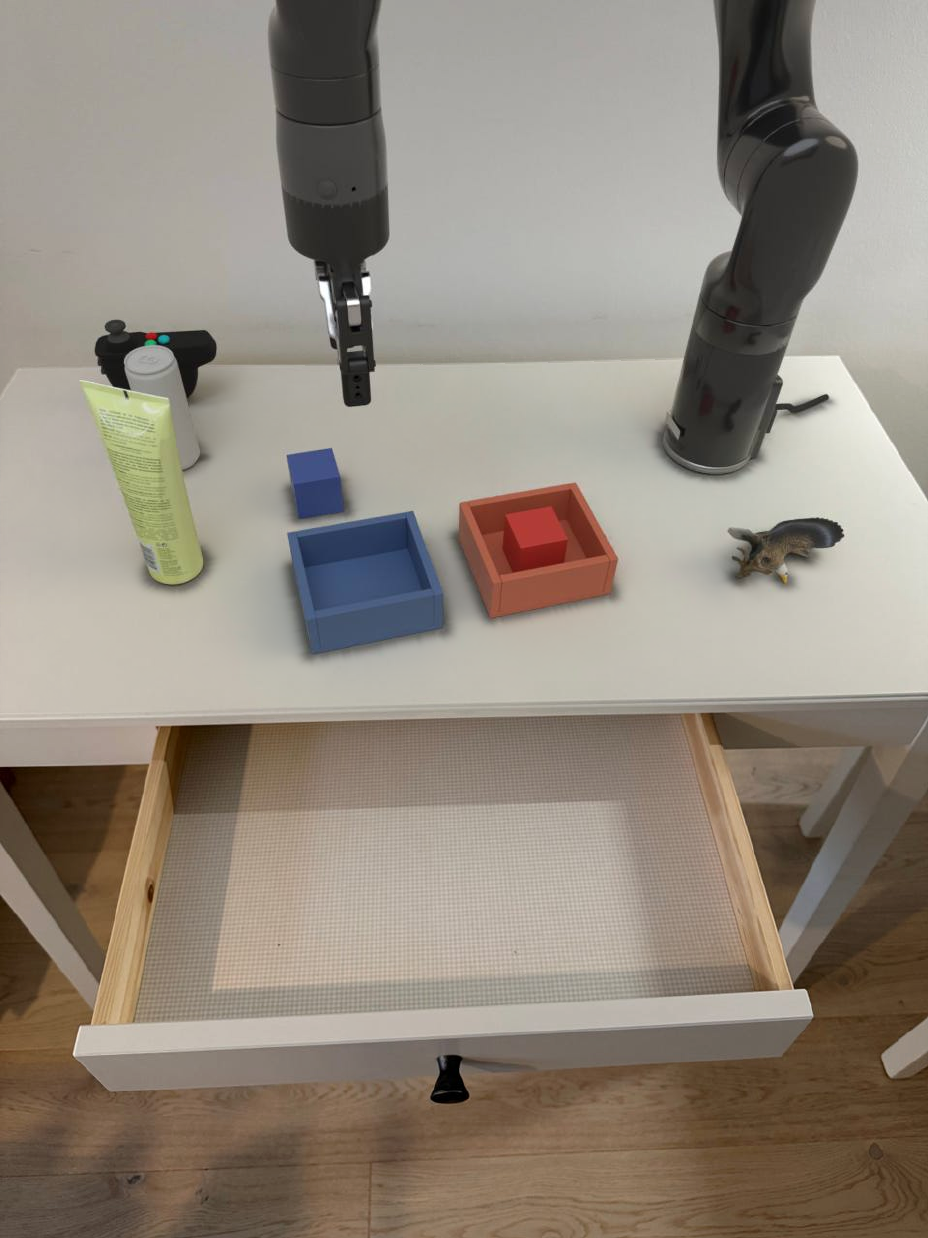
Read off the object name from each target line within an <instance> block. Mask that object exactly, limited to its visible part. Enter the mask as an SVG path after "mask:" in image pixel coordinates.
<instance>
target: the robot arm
mask: <svg viewBox="0 0 928 1238" xmlns="http://www.w3.org/2000/svg"><path fill="white" fill-rule="evenodd" d="M382 1H383V0H275V5H274V6H273V8H272V9H271V11H270V14H269V16H268V22H267V45H268V46H267V47H268V57H269V67H270V76H271V82H272V83H271V85H272V92H273V100H274V106H275V145H276V155H277V163H278V170H279V178H280V186H281V195H282V202H283V209H284V218H285V227H286V233H287V239H288V242H289V244H290V246H291V247H292V249H293V250H295V251H296V252H297V253H298V254H300V255H301V256H303V257H305V258H307V259H310V260H313V270H314V276H315V280H316V281H317V282H316V283H317V288H318V295H319V298H320V299H321V300H322V302H323V305H324V313H325V320H326V327H327V332H328V337H329V343H330V347H331V348H332V349H333V350H336V353H337V358H336V363H337V365H338V366H339V371H340V378H341V391H342V392H341V393H342V400H343V403H344V405H345V406H346V407H348V408H353V407H363V406H369V404H371V402H372V391H371V390H372V388H371V373H374V372H376V367H377V363H376V362H377V361H376V360H375V352H374V338H373V337H374V336H373V331H374V320H373V312H372V308H373V301H372V299H371V297H370V296H371V293H372V291H373V290H372V289H373V287H372V281H371V280H372V279H371V273H370V270H367V264H366V260H367V259H369V258H370V257H372V256H375V255H377V254H378V253H380V252H381V251H382V250H384V249H385V247H386V245H387V244H388V242H389V239H390V210H389V209H390V208H389V207H390V206H389V205H390V204H389V180H388V177H389V176H388V151H387V139H386V138H387V137H386V131H385V125H384V119H383V109H382V95H381V94H382V93H381V91H382V90H381V68H380V46H379V39H378V26H379V19H380V14H381V9H382V4H383V3H382ZM816 2H817V0H712V4H713V12H714V23H715V29H716V39H717V50H718V98H717V99H718V100H717V101H718V103H717V104H718V107H717V131H716V132H717V133H716V134H717V135H716V168H717V169H716V170H717V178H718V181H719V185H720V187H721V190H722V192H723V194H724V196H725V198H726V199H727V201H729V203H730V204H731V206H733V208H734V209H735V210H736V212H737V213H738V214H739V215H740V216H741V218H740V222H739V226H738V230H737V232H736V236H735V239H734V242H733V245H732V248H731V250H729V251H725V252H722V253H720V254H718V255H716V256H715V257H714V258H712V260H711V261H709V263H708V264H707V267H706V269H705V271H704V275H703V278H702V281H701V286H700V291H699V295H698V298H697V303H696V307H695V311H694V315H693V319H692V323H691V327H690V331H689V335H688V340H687V344H686V348H685V352H684V356H683V360H682V364H681V368H680V373H679V375H678V379H677V380H678V381H677V385H676V389H675V393H674V397H673V401H672V405H671V410H670V413H669V412H668V411H667V412H666V416H665V423H666V427H665V430H664V434H663V438H662V444H663V448H664V450H665V452H666V453H667V455H668V456H669V457H670V458H671V459H672V460H673V461H674V462H676V463H677V464H678V465H680V466H682V467H684V468H686V469H689V470H691V471H694V472H698V473H703V474H709V475H723V474H730V473H733V472H736V471H738V470H740V469H741V468H744V467H745V466H746V465H747V464H748V462H749V461H750V460H751V459H756V458H758V455H759V454H760V451H761V448H762V445H763V443H764V439H765V436H766V434H770V433H771V431H772V428H773V425H774V422H775V420H776V417H777V414H778V411H782V410H783V411H788V412H789V413H799V412H803V411H805V410H809V409H811V408H813V407H815V406H817V405H819V404H822V403H824V402H826V401H828V400H829V399H830V396H829V395H828V394H827V393H824V394H822V395H819V396H817V397H815V398H813V399H811V400H809V401H806V402H804V403H801V404H797V405H793V404H792V403H789V402H788V403H787V402H783V403H782V402H780V403H778V400H779V396H780V394H781V392H782V389H783V386H784V381H783V378H782V377H781V376H780V375H779V372H780V369H781V366H782V363H783V360H784V358H785V354H786V352H787V348H788V346H789V343H790V339H791V337H792V334H793V331H794V328H795V325H796V322H797V319H798V316H799V314H800V311H801V308H802V305H803V303H804V300H805V299H806V297H807V296H808V295H809V294H810V293H811V291H812V290H813V289H814V288H815V287H816V285H817V284H818V282H819V280H820V279H821V277H822V275H823V274H824V271H825V268H826V266H827V264H828V262H829V259H830V256H831V254H832V251H833V249H834V247H835V244H836V243H837V239H838V237H839V234H840V232H841V230H842V227H843V225H844V222H845V220H846V217H847V214H848V213H849V210H850V206H851V204H852V201H853V198H854V196H855V195H854V194H855V191H856V187H857V183H858V177H859V156H858V152H857V149H856V147H855V145H854V143H853V142H852V141H851V139H850V138H849V137H848V136H847V134H845V133H844V132H843V131H842V130H840V129H839V127H837V126H836V124H833V122H832V121H830V120H829V119H828V118H827V117H826V116H825V115H824V114H822V113H821V112H820V110H819V108H818V105H817V101H816V97H815V96H816V95H815V89H814V80H813V79H814V78H813V58H812V57H813V56H812V55H813V54H812V32H813V31H812V29H813V28H812V27H813V18H814V11H815V6H816ZM360 346H361V348H362V349H361V350H354V351H348V350H349V349H353V348H354V347H360Z"/></svg>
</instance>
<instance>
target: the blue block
mask: <svg viewBox="0 0 928 1238" xmlns="http://www.w3.org/2000/svg"><path fill="white" fill-rule="evenodd" d="M285 458H286V461H287V468H288V474H289V480H290V486H291V487H290V488H291V491H292V496H293V500H294V504H295V508H296V513H297V516H298V519H299V520H302V519H308V518H313V517H319V516H325V515H331V514H336V513H343V512H345V505H344V498H343V488H342V479H341V474H340V471H339V466H338V463H337V460H336V457H335V454H334V450H333V447H328V448H327V447H326V448H321V449H314V450H309V451H303V452H296V453H290V454H289V453H288V454H286V457H285Z"/></svg>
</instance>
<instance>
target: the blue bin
mask: <svg viewBox="0 0 928 1238" xmlns="http://www.w3.org/2000/svg"><path fill="white" fill-rule="evenodd" d="M286 535H287V541H288V547H289V552H290V557H291V563H292V569H293V573H294V577H295V582H296V583H295V584H296V587H297V590H298V596H299V601H300V605H301V610H302V613H303V614H302V615H303V618H304V622H305V627H306V631H307V635H308V636H307V637H308V642H309V646H310V651H311V654H312V655H315V654H320V653H327V652H330V651H334V650H339V649H346V648H349V647H354V646H359V645H360V646H361V645H365V644H371V643H375V642H379V641H384V640H390V639H393V638H398V637H399V638H400V637H403V636H409V635H414V634H419V633H423V632H429V631H433V630H438V629H443V627H444V626H443V623H444V592H443V588H442V587H441V584H440V582H439V578H438V576H437V572H436V569H435V568H434V565H433V561H432V559H431V556H430V554H429V551H428V548H427V545H426V542H425V540H424V536H423V534H422V531H421V529H420V525H419V523H418V520H417V517H416V515H415V512H414V510H410V511H408V510H407V511H404V512H398V513H392V514H387V515H381V516H375V517H369V518H363V519H358V520H353V521H352V520H351V521H346V522H340V523H335V524H330V525H324V526H317V527H312V528H306V529H300V530H296V531H289V532H286Z"/></svg>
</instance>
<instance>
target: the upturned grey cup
mask: <svg viewBox="0 0 928 1238" xmlns="http://www.w3.org/2000/svg"><path fill="white" fill-rule="evenodd" d="M124 364H125V373H126V376H127V379H128V382H129V385H130V388H131V391H135V392H140V393H145V394H149V395H154V396H160V397H165V398H169V401H170V406H171V415H172V422H173V428H174V433H175V438H176V443H177V448H178V453H179V458H180V463H181V467H182V471H184V470H187V469H190V468H191V467H192V466H193V465H195V464H196V463H197V461H198V459H199V458H200V455H201V449H200V445H199V441H198V437H197V433H196V430H195V426H194V425H195V424H194V421H193V418H192V413H191V410H190V406H189V402H188V399H187V398H186V394H185V391H184V387H183V383H182V379H181V375H180V371H179V368H178V364H177V361H176V359H175V357H174V355H173V353H172V351H171V350H170V349H168V348H166V347H163V346H158V345H149V346H143V347H139V348H137V349H134V350H133V351H131V352H130V353H129V354H127V355H126V357H125V359H124Z"/></svg>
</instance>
